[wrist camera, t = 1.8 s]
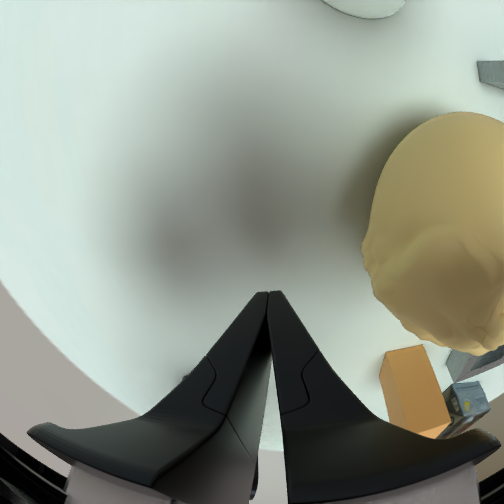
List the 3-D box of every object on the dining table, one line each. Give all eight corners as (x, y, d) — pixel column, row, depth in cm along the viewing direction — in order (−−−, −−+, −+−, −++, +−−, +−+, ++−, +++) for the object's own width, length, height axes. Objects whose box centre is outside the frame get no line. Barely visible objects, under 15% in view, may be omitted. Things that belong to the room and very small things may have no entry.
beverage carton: (481, 378, 26) (495, 412, 20) (411, 437, 35) (416, 465, 30) (451, 381, 25) (465, 420, 20) (379, 441, 35) (383, 472, 29)
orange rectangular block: (412, 368, 23) (434, 439, 15) (378, 375, 24) (395, 451, 16) (422, 344, 21) (451, 421, 14) (386, 351, 22) (408, 435, 14)
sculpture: (314, 229, 17) (348, 381, 7) (412, 71, 11) (557, 68, 2) (425, 296, 19) (479, 406, 9) (507, 180, 13) (604, 249, 4)
